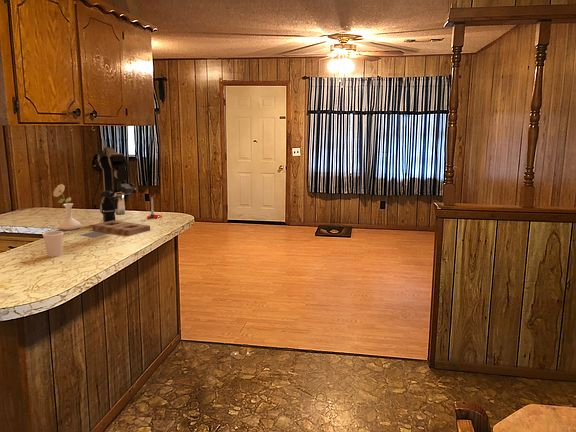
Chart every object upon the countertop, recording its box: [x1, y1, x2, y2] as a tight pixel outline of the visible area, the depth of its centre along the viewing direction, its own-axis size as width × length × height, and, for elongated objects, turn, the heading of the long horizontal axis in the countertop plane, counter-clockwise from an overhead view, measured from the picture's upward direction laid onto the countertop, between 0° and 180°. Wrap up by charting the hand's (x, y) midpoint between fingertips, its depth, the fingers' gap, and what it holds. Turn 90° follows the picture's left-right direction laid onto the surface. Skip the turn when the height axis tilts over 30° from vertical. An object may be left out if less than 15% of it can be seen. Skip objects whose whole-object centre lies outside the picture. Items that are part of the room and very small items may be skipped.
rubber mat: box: [79, 230, 111, 239], centre depth 249 cm, size 11×11×1 cm
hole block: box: [92, 219, 151, 237], centre depth 259 cm, size 28×14×3 cm, turn 61°
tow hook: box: [146, 197, 163, 219], centre depth 294 cm, size 8×13×9 cm
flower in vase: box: [52, 183, 82, 231], centre depth 259 cm, size 13×11×25 cm
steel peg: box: [115, 194, 126, 216], centre depth 251 cm, size 5×5×10 cm
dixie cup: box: [41, 230, 64, 258], centre depth 211 cm, size 8×8×10 cm
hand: (120, 208), depth 251 cm, fingers closed on steel peg, 5 cm apart
